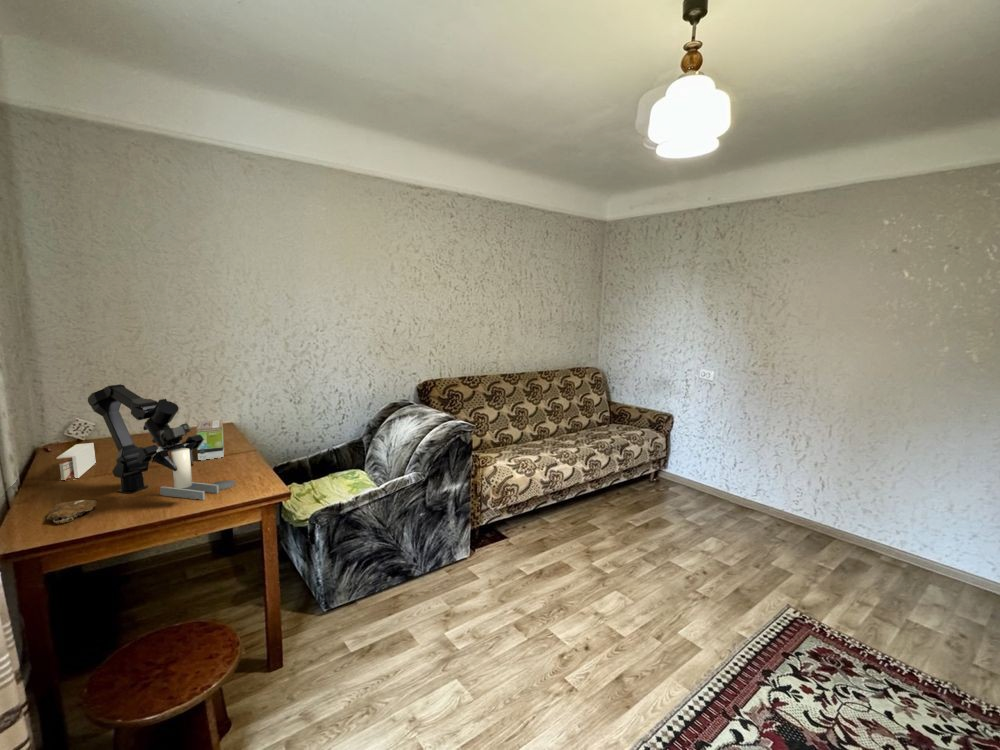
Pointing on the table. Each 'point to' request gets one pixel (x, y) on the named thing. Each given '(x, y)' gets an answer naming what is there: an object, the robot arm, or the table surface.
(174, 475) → the white rounded block
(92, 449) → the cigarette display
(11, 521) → the table surface
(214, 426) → the tea box
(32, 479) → the table surface
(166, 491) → the grey parallel rails
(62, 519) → the decorative rock
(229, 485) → the coaster
